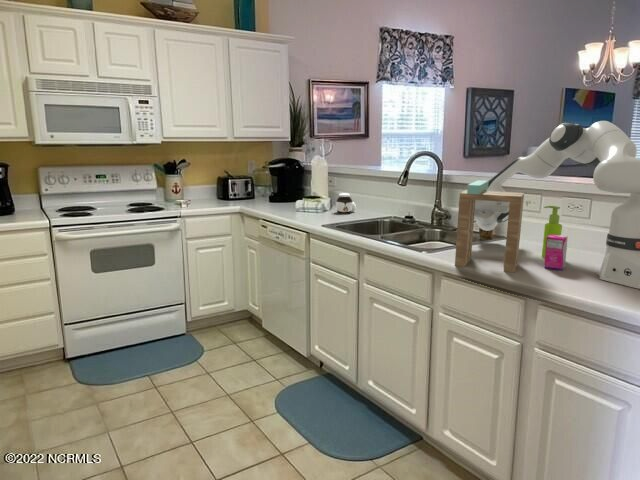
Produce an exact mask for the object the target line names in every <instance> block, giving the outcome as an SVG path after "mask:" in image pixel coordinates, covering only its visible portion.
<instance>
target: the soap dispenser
mask: <svg viewBox="0 0 640 480" xmlns="http://www.w3.org/2000/svg"><path fill="white" fill-rule="evenodd" d="M543 208H544V209H552V213H551V214H550V215H549V216H548V223H547V222H546V223H545V224H544V230H543V240H542V241H543V243H542V248H541V249H542V250H541V258H542V259H544V260H545V252H546V240H547V237H548V236H550V235H560V236H562V230H563V225H562V224H560V215H559V214H558V211H559V210H560V209H561V207H560V206H556V205H548V206H543Z"/></svg>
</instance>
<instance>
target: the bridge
mask: <svg viewBox="0 0 640 480" xmlns="http://www.w3.org/2000/svg"><path fill="white" fill-rule="evenodd" d="M524 199H525V192H515V191H505V192H499V191H483V192H482V193H480V194H467V189H465V190H464V191H461V192H460V193H459V197H458V200H459V206H458V213H457V214H458V215H457V216H458V217H457V229H456V243H455V244H456V245H455V257H454V259H455V260H454V266H456V267H463V268H465V267H466V266H467V265H468V264H469V262H470V261H471V259H472V250H473V249H472V248H473V237H474V235H473V234H474V223H475V218H474V212H475V200H485V201H502V202H510V204H509V216H508V220H507V229H506V240H505V252H504V261H503V262H504V264H503V272H507V273H515V272H516V269H517V266H518V261H519V250H520V239H521V229H522V219H523V209H524Z"/></svg>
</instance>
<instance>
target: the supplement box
mask: <svg viewBox="0 0 640 480" xmlns="http://www.w3.org/2000/svg"><path fill="white" fill-rule="evenodd" d="M567 247H568V235H561V236H560V235H550V236H548V237H547V240H546V252H545V259H544V267H543V268H544V269H549V270H555V271H562V270H563V269H565V268H566V262H567V261H566V260H567V249H568V248H567Z"/></svg>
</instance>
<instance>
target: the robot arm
mask: <svg viewBox="0 0 640 480" xmlns="http://www.w3.org/2000/svg"><path fill="white" fill-rule="evenodd" d="M637 153H638V150H637V145H636V144H635V143H634V142H633V141H632V139H631V138H630V137H629V135H627V134H626V133H625V132H624V131H623V130H622V129H621V128H620V127H619V126H617V125H615V124H614V123H612V122H610V121H608V120H600V121H596V122H594V123H592V124H591V125H590V126H589V127H583V126H582V124H580V123H569V122H562V123H560V124H558V125H556V127H554V128H553V129H552V130H551V133H550V135H549V137H548V138H546V140H544V141H543V142H542V143H541V144H540V145H539V146H538V147H537V148H536V149H535V150H534V151H533V152H532V153H531V154H529V155H527V156H524V155H523V156H522V155H521V156H520V157H518V158H516V159H514V160H512V162H510V163H509V164H508V165H506V166H505V167H504V168H503V169H501V171H499V172H498V173H497V174H495V175H494V176H493V177H491V179H489V180H488V181H489V183H488V189H487V190H485V191H499V192H506V190H505V189H504V188H503V187H502V185H503V184H505V182H506V181H508V180H509V179H510V178H512V177H513V176H514V175H515V174H518V173H520V174H523V175H526V176H528V177H531V178H533V179H534V178H535V179H545V178H547V177H549V176H550V175H551V174H553V173H554V172H555V171H556V170H557V169H558V168H559V166H561V164H563V163H564V162H565V160H567V159H570V160H573V161H574V162H576V163H579V164H581V165H584V166H589V167H594V166H596V165H597V166H596V167H595V169H594V171H593V176H592V177H593V182H594V185H595V186H596V188H597V189H598V190H600V191H604V192H608V193H614V194H630V195H629V197H628V198H627V200H626V201H625V202H623V203H622V204H620V205H618V206H616V207H615V208H614V209H613V210H612V212H611V216H610V224H609V231H608V233H607V235H606V240H605V241H606V242H605V244H606V249H605V253H604V257H603V260H602V263H601V266H600V269H599V270H598V272H597V275H598V276H599V279H600V280H602V281H607V282H611V283H613V284H618V285H622V286H626V287H630V288H634V289H638V290H640V157H639V158H638V157H636V156H637ZM509 204H510V202H502V201H485V200H475V212H474V220H475V221H476V224H477V226H478V227H479V228H480V229H481V230H483V231H486V232H487V231H492V230H494V229H495V228H496V227H497V225H498V224H499V223H500V224H501V223H504V222H508V216H509ZM457 205H458V207H459V199H458V201H457Z"/></svg>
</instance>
